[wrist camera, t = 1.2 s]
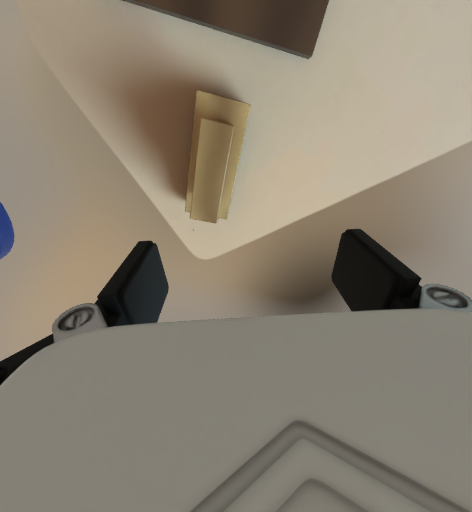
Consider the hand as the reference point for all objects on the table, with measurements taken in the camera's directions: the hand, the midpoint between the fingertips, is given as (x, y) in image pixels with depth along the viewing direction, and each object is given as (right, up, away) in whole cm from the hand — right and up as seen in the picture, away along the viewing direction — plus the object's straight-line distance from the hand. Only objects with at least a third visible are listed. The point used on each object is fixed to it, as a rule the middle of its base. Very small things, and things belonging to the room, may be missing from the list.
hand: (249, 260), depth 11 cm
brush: (-3, +12, +15) cm, 19 cm away
